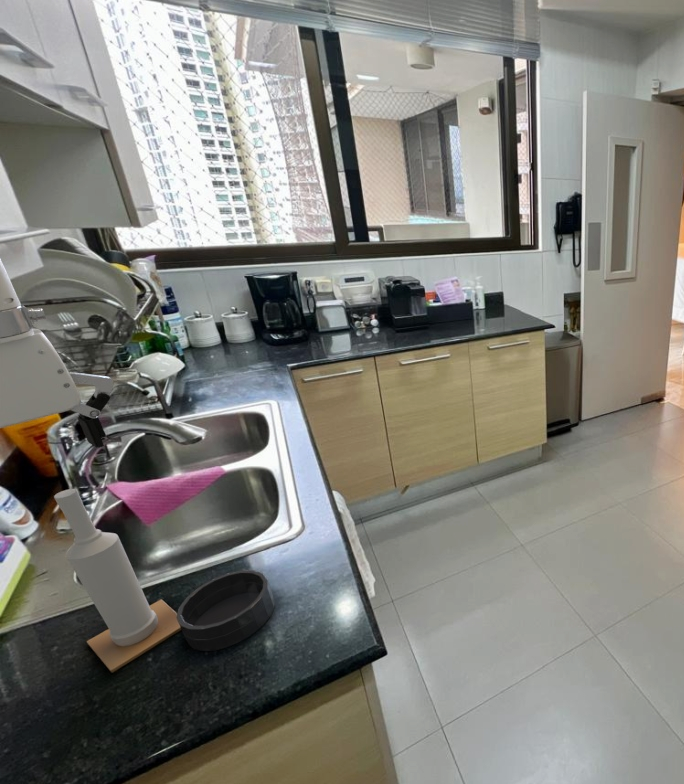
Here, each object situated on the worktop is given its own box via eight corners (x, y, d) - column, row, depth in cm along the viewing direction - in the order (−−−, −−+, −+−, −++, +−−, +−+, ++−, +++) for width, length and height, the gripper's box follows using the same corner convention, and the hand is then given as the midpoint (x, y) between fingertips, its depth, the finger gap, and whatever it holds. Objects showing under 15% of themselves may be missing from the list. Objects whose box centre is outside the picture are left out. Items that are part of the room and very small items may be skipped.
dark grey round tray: (172, 630, 71) (161, 608, 69) (252, 580, 80) (244, 560, 78) (208, 665, 66) (198, 642, 64) (289, 608, 75) (282, 587, 73)
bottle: (105, 640, 68) (26, 500, 59) (147, 613, 73) (80, 478, 63) (126, 652, 67) (48, 509, 57) (167, 624, 71) (102, 487, 61)
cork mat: (87, 643, 68) (86, 641, 68) (162, 601, 76) (161, 599, 75) (112, 673, 64) (110, 670, 64) (188, 625, 71) (187, 622, 71)
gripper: (73, 308, 60) (122, 426, 66) (-169, 339, 46) (-77, 485, 53) (96, 316, 56) (145, 440, 63) (-158, 352, 42) (-61, 507, 49)
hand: (44, 460), depth 58 cm, fingers open, 9 cm apart
